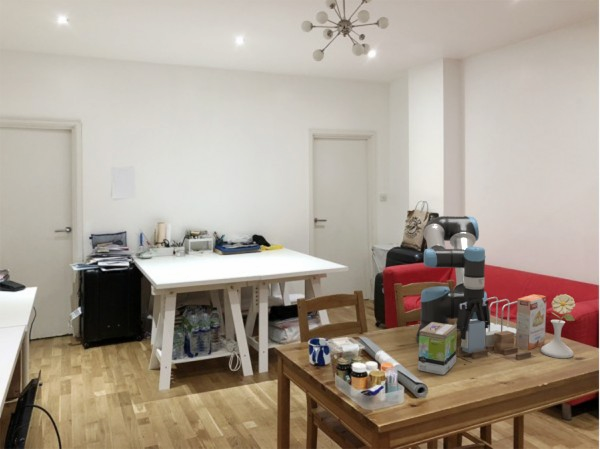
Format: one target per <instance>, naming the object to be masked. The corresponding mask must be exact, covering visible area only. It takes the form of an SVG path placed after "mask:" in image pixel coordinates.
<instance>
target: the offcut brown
mask: <svg viewBox="0 0 600 449" xmlns="http://www.w3.org/2000/svg"><path fill="white" fill-rule="evenodd" d="M513 347H515V337H514V333H513V332H510V331H502V332H497V333H494V352H496V353H499V354H503V350H504V349H508V348H513Z"/></svg>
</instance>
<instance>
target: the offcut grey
mask: <svg viewBox="0 0 600 449" xmlns="http://www.w3.org/2000/svg"><path fill="white" fill-rule="evenodd" d="M497 332H501V331H498V330H495V331H490V332H486V335H485V345H484V349H486V346H490V345H494V333H497Z"/></svg>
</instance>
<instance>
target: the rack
mask: <svg viewBox="0 0 600 449" xmlns="http://www.w3.org/2000/svg"><path fill="white" fill-rule="evenodd" d="M486 350H488V353H489V354H491V355H495V356H498V357H499V358H502V359H505V360H508V361H512V362H514V363H516V362H520V361H524V360H528V359H532V358H536V357H537V356H535V355H534V354H532V351H530V350H527V351H524V352H523V351H521V350H519V348H518V347H516V346H514V347H513V348H508V349H504V350H503V354H499V353H496V352H494V345H490V346H486Z"/></svg>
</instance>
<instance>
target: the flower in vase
mask: <svg viewBox="0 0 600 449" xmlns="http://www.w3.org/2000/svg"><path fill="white" fill-rule="evenodd" d="M575 306H576V304H575V299H574V298H573V296H571V295H568V294H567V293H565V294H559V295H556V296H555V297H554V298H553V300H552V301H551V307H552V310H553V311H554V312H555V313H554V312H552V310H551V311H550V312H551V313H552V314H553V315H554V316H556V317H557V318H559V319H551V320H550V322H551V324H552V326H553V331H554V335H553V339H552V340H551V341H549V342H548V343H546V344H544V346H543V345H542V347H541V349H540V352H541V353H542V354H543V355H545V356H547V357H550V358H554V359H555V358H556V359H570V358H573V357H574V351H573V350H572V349H571V348H570V347H569V346H568V345H567V344H566V343H564V342H563V341H562V338H561V337H562V335H561V334H562V328H563V327H564V325H565V323H566V321H567V322H572V321H573V322H574V321H576V320H575V318H574V317H573V315H572V314H569V313H571V312H572V310H574V309H575ZM556 313H558V314H560V315H562V317H560V316H559V315H557V314H556ZM562 319H565V321H564V320H562Z"/></svg>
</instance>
